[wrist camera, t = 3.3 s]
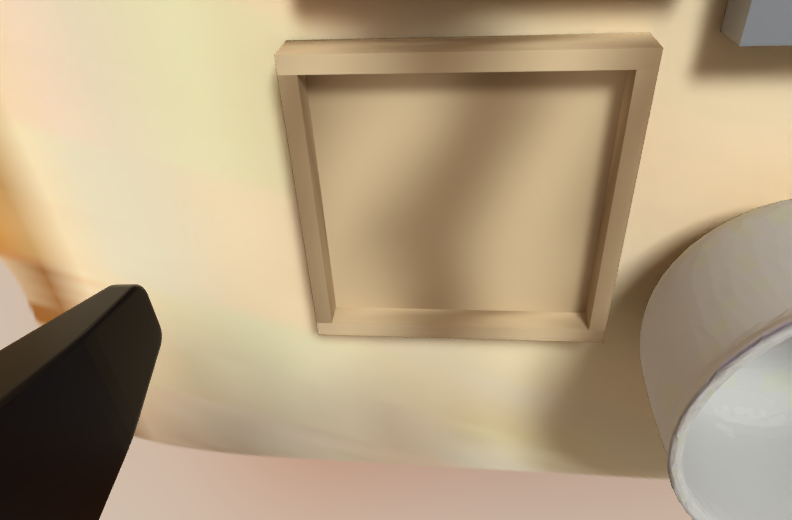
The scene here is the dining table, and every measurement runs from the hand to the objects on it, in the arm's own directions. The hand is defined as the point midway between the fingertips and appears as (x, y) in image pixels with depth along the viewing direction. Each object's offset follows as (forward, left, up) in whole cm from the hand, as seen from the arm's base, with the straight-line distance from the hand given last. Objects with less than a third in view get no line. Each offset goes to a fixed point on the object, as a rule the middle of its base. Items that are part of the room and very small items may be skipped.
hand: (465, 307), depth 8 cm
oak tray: (0, +5, -13) cm, 14 cm away
